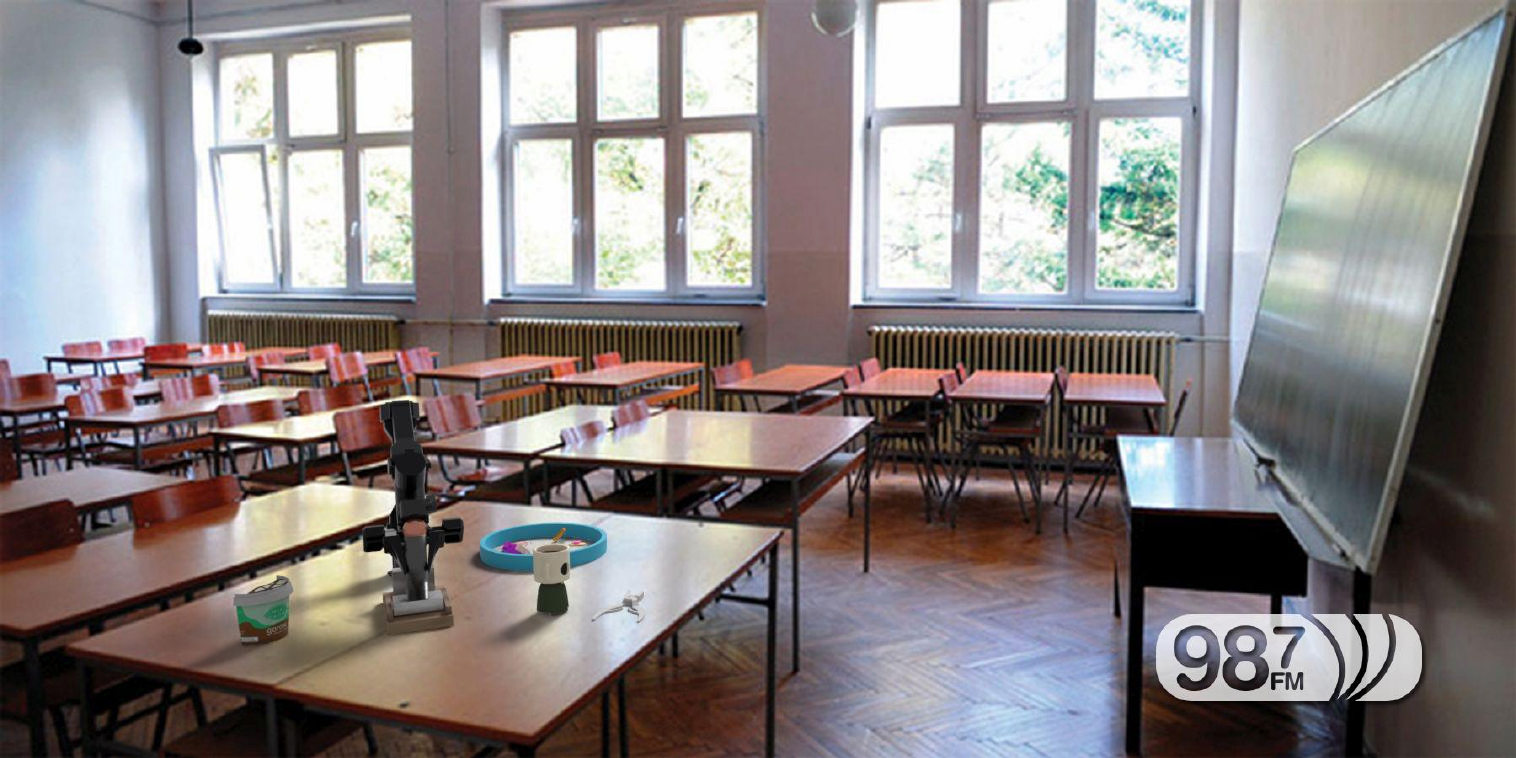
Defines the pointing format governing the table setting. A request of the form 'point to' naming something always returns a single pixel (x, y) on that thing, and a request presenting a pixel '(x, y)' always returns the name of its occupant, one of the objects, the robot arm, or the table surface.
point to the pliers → (628, 600)
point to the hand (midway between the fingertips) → (417, 572)
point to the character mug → (551, 577)
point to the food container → (264, 612)
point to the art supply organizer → (523, 558)
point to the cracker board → (416, 619)
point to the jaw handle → (416, 573)
